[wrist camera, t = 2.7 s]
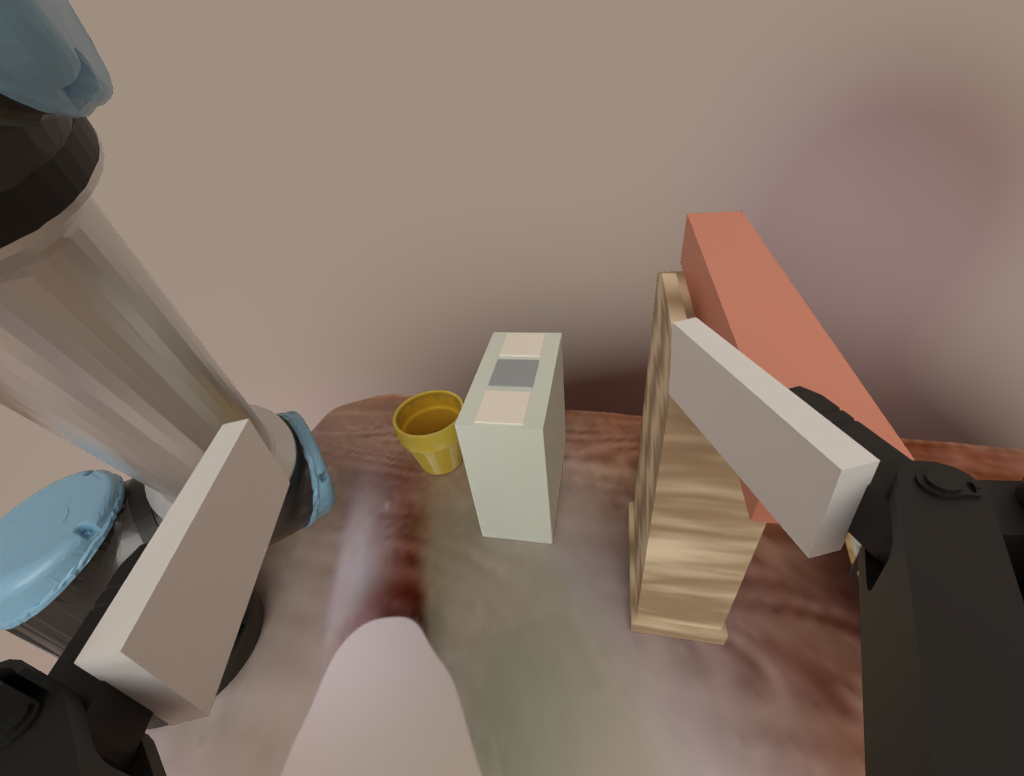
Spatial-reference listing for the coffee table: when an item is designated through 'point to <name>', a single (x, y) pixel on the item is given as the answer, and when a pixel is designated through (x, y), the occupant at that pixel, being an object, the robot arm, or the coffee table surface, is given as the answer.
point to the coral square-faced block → (768, 321)
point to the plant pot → (430, 429)
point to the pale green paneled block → (516, 436)
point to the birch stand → (682, 505)
